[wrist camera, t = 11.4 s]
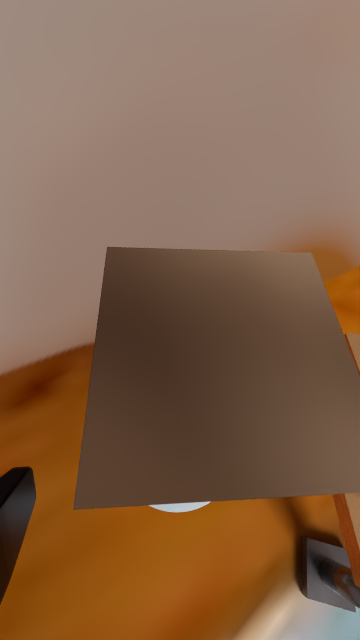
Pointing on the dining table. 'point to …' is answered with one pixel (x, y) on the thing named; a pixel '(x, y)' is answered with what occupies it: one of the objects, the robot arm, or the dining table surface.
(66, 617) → the dining table surface
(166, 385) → the taupe upright block
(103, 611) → the dining table surface
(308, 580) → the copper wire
